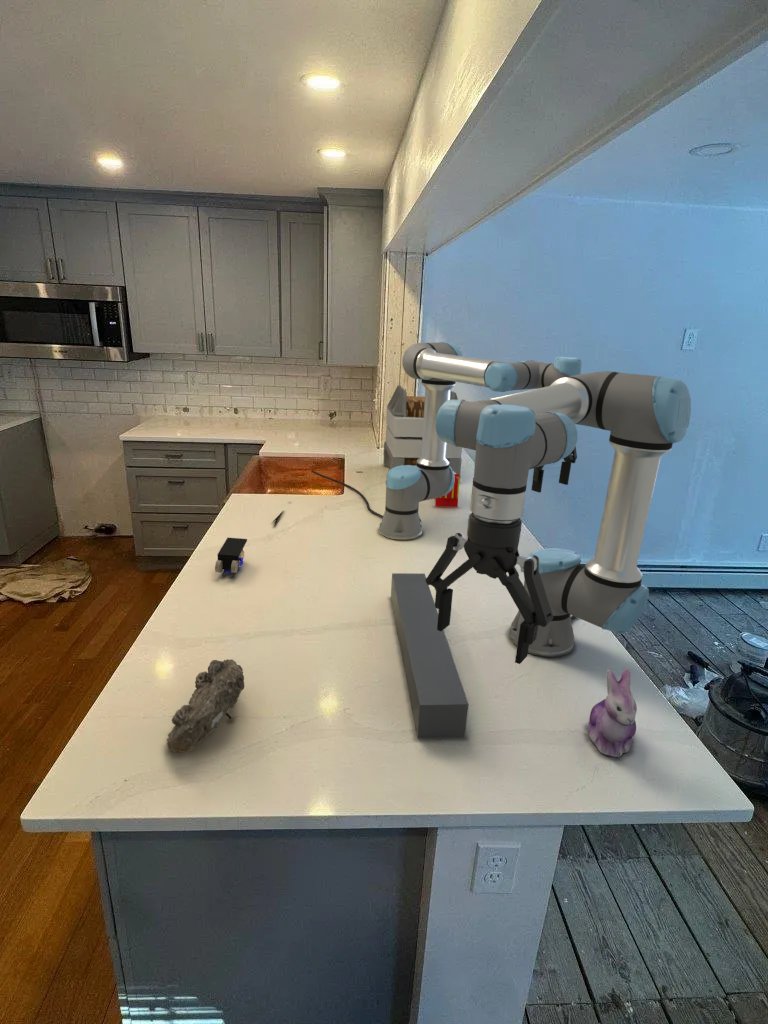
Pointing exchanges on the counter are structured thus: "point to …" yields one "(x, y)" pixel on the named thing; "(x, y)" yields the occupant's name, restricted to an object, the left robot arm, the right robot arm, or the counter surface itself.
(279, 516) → the feather
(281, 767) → the counter surface
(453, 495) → the toy
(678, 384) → the right robot arm
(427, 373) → the left robot arm
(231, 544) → the black wheeled cart
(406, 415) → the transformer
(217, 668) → the fossil
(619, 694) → the figurine
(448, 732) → the long dark grey beam
